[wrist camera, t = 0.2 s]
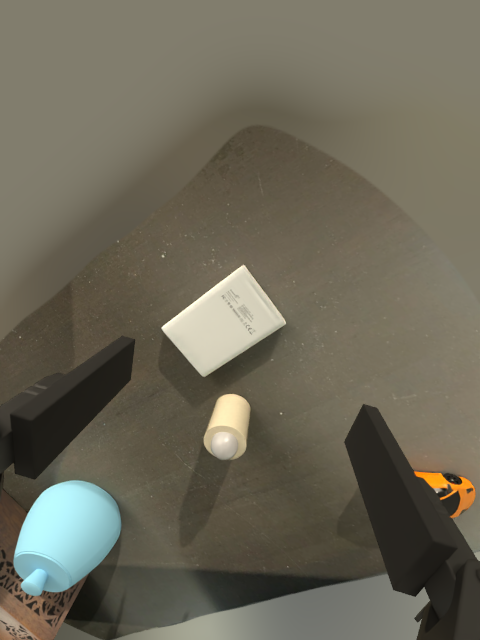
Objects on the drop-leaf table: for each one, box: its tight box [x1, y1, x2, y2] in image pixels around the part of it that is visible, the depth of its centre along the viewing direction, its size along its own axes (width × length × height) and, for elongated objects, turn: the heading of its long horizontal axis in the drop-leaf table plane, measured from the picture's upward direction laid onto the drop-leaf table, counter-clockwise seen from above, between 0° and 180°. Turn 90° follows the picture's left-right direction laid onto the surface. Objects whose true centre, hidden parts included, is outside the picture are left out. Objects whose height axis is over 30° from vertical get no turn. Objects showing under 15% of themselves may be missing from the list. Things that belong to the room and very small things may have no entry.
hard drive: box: [162, 265, 286, 377], centre depth 31 cm, size 2×8×12 cm
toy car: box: [414, 472, 475, 518], centre depth 34 cm, size 12×12×3 cm
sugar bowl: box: [13, 480, 121, 596], centre depth 41 cm, size 15×15×12 cm
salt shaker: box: [204, 394, 251, 460], centre depth 32 cm, size 5×5×8 cm
